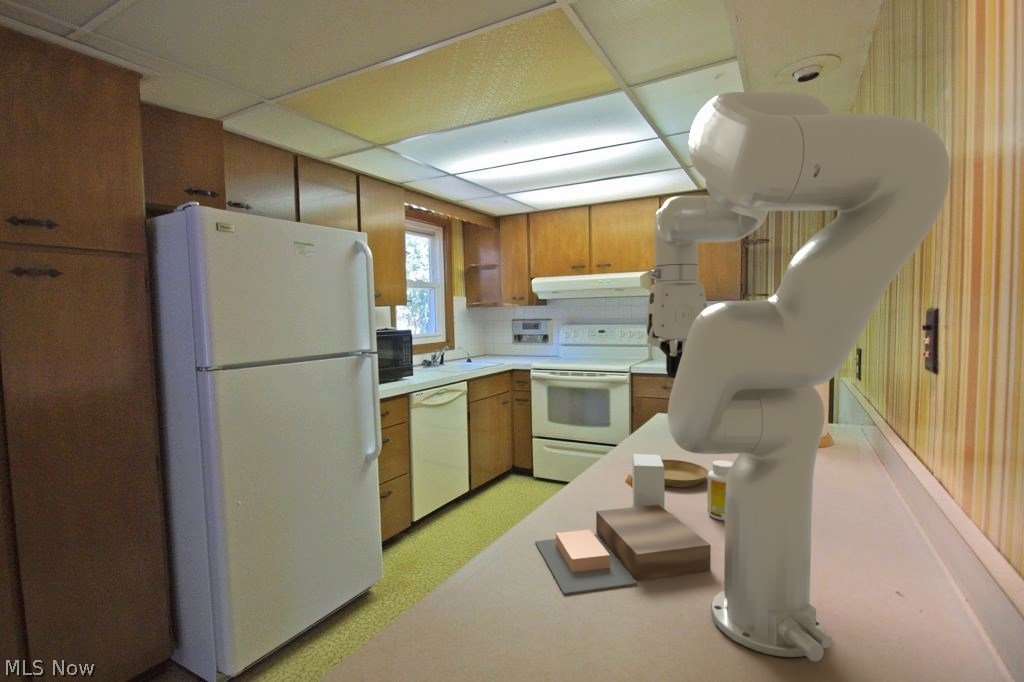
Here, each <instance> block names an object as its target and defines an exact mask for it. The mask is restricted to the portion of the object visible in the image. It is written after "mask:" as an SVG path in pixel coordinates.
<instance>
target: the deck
mask: <svg viewBox="0 0 1024 682" xmlns="http://www.w3.org/2000/svg"><path fill="white" fill-rule="evenodd" d="M595 511H596V512H595V520H596V521H595V522H596V524H595V527H596V533H595V534H596V535H597V536H598V537H599V538H600V540H601V541H602V542H603V543H604V544H605V546H606V547H607V548H608V549H609V550H610V551H611V553H612V554H613V555H614V556H615V557H616V559H617V560H618V561H619V562H620V563H621V564H622V566H623V567H624V568H625V569H626V570H627V572H628V573H629V574H630V575H631V576H632V577H633V578H634V577H635V578H634V580H635V581H636V582H637V581H644V579H645V580H651V578H653V579H657V578H658V579H659V578H666V577H673V576H678V575H687V574H695V573H703V572H708V571H709V572H710V571H711V562H712V561H711V560H712V559H711V557H712V556H711V551H712V550H711V548H712V547H711V546H712V545H711V544H710V543H709V542H708V541H706V540H705V539H704V538H702V537H701V536H700V535H699V534H697V533H696V532H695V531H694V530H693V529H691V528H690V527H688V526H687V525H685V524H684V522H682V521H680V519H678V518H676V517H675V516H674V515H672V514H671V513H670V512H669V511H668V510H666V509H663V508H662V507H661V506H660V505H649V506H640V507H633V506H632V507H624V508H623V507H622V508H612V509H604V510H603V509H602V510H595Z"/></svg>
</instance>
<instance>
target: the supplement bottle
mask: <svg viewBox="0 0 1024 682" xmlns="http://www.w3.org/2000/svg"><path fill="white" fill-rule="evenodd" d="M733 463H734V462H732V461H729V460H722V459H721V460H714V461H712V464H711V465H712V467H711V470H710V471H708V472H709V473H708V476H707V514H708V515H709V516H710V517H711V518H713V519H715V520H718V521H723V522H725V488H726V480H727V476H728V473H729V471H730V469H731V467H732V465H733Z"/></svg>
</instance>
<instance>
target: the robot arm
mask: <svg viewBox="0 0 1024 682" xmlns="http://www.w3.org/2000/svg"><path fill="white" fill-rule="evenodd" d="M688 153H689V158H690V160H691V161H690V162H691V164H692V165H693V168H694V169H695V170H696V172H697V173H698V174H699V175H700V176H701V177H702V178H703V179H704V181H705V188H706V190H707V193H708V194H709V195H679V196H678V195H676V196H673V197H670V198H668V199H667V200H666V201H664V203H663V205H662V206H661V208H659V209H658V210H657V211H656V212H655V216H654V267H653V269H649V270H648V272H647V273H648V278H652V279H653V281H654V284H651V287H650V291H649V296H648V301H647V312H646V334H647V336H648V338H647V345H649V346H650V347H651V346H652V347H656V348H659V349H660V350H661V351H662V352H663V353H662V354H663V355H664V356H665V357H666V358H665V361H666V362H665V371H666V373H667V377H669V378H672V379H674V380H673V384H672V388H671V391H670V394H669V395H670V396H669V400H668V404H667V405H668V406H667V425H668V426H667V427H668V430H669V434H670V436H671V438H672V440H673V441H674V443H676V445H677V446H678V447H680V448H681V449H682V450H684V451H686V452H689V453H693V454H697V455H716V454H717V455H724V454H725V455H726V454H728V455H729V454H738V455H737V457H736V458H735V460H734V461H733V462H732V463H733V465H732V467H731V469H730V471H729V473H728V476H727V480H726V488H725V521H724V566H723V567H724V574H723V575H724V577H723V578H724V580H723V581H724V582H723V583H724V584H723V587H724V589H723V590H722V591H720V592H719V593H717V594H715V596H714V597H713V598H712V601H711V605H710V613H711V618H712V620H713V622H714V624H715V625H716V626H717V627H718V629H719V630H720V631H721V632H723V633H724V634H725V635H726V636H727V637H728V638H730V639H731V640H733V641H735V642H736V643H738V644H740V645H742V646H744V647H746V648H748V649H750V650H753V651H755V652H759V653H762V654H766V655H771V656H775V657H780V658H781V657H784V658H799V657H800V658H801V657H806V658H808V659H809V660H810V661H812V662H818V661H820V660H821V659H822V657H823V655H824V653H825V651H824V650H825V649H828V648H830V647H831V645H832V643H833V640H832V637H831V636H830V635H828V634H827V633H826V632H825V627H824V625H823V623H822V621H821V620H820V619H819V617H818V616H817V608H816V607H814V606H813V605H811V604H810V601H811V599H810V598H811V596H810V595H811V556H812V555H811V553H812V517H813V516H812V515H813V514H812V512H813V488H814V486H813V485H814V474H815V465H816V459H817V454H818V449H819V446H820V442H821V439H822V435H823V431H824V425H825V406H824V402H823V399H822V397H821V394H820V393H819V391H818V390H817V389H816V387H817V386H820V385H824V384H825V383H828V382H829V381H831V380H832V379H833V378H834V377H835V376H836V375H837V374H838V372H839V371H840V370H841V368H842V367H843V365H844V364H845V362H846V361H847V359H848V357H849V356H850V354H851V352H852V350H853V349H854V347H855V345H856V343H857V342H858V340H859V338H860V336H861V334H863V331H864V330H865V328H866V326H867V324H869V323H868V322H869V321H870V319H871V318H872V316H873V314H874V313H875V311H876V309H877V306H878V305H879V303H880V300H881V299H882V297H883V295H884V294H885V292H886V291H887V289H888V288H889V286H890V284H891V283H892V281H893V280H894V279H895V278H896V276H897V275H898V273H900V271H901V270H902V268H903V267H904V266H905V265H906V263H907V262H908V261H909V260H910V258H911V257H912V255H914V253H915V252H916V250H917V249H918V248H919V247H920V245H921V243H922V242H924V240H925V239H926V237H927V235H928V234H929V233H930V231H931V230H932V228H933V226H934V224H935V222H936V221H937V219H938V218H939V216H940V213H941V211H942V209H943V207H944V203H945V201H946V198H947V193H948V190H949V184H950V173H951V171H950V159H949V154H948V150H947V148H946V145H945V142H943V140H942V138H941V137H940V136H939V133H937V132H936V131H935V130H934V129H933V128H931V127H930V126H928V125H927V124H926V123H923V122H920V121H918V120H915V119H912V118H908V117H904V116H897V115H889V114H876V113H875V114H874V113H868V114H867V113H864V114H863V113H859V114H858V113H848V114H847V113H845V114H844V113H841V114H837V113H835V114H832V112H831V110H830V108H829V107H828V106H827V105H826V103H825V102H823V101H822V100H820V99H819V98H817V97H815V96H813V95H810V94H807V93H803V92H795V91H794V92H793V91H730V92H726V93H725V92H724V93H720V94H718V95H716V96H714V97H713V98H711V99H710V100H708V101H707V103H705V105H704V106H703V107H702V108H701V109H700V110H699V112H697V115H696V116H695V118H694V120H693V123H692V125H691V129H690V133H689V139H688ZM789 211H790V212H799V211H800V212H802V211H803V212H805V211H806V212H811V211H813V212H815V211H837V212H838V213H837V216H836V217H835V218H834V219H833V220H832V221H831V222H829V223H828V224H827V225H825V226H824V227H823V228H821V229H820V230H818V231H817V232H816V233H815V234H814V235H813V236H811V237H810V238H809V239H808V240H807V241H806V242H805V243H804V244H803V245H802V246H801V247H800V248H799V249H798V251H797V252H796V253H795V254H794V256H792V258H791V260H790V261H789V262H788V265H787V267H786V270H785V272H784V275H783V278H782V280H781V282H780V284H779V287H778V288H777V290H776V292H775V293H774V294H773V295H772V296H769V297H768V298H766V299H761V300H736V301H735V300H734V301H733V300H732V301H723V302H722V301H721V302H718V303H715V304H712V305H709V306H708V305H707V297H706V291H705V288H704V284H703V283H699V254H700V253H699V247H700V246H699V244H700V243H731V242H732V243H733V242H736V241H739V240H741V239H744V238H746V237H748V236H749V235H750V234H752V233H754V232H755V231H756V230H757V229H759V228H761V226H762V225H763V224H764V222H765V220H766V219H767V216H768V213H769V212H789Z"/></svg>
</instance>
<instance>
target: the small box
mask: <svg viewBox="0 0 1024 682" xmlns="http://www.w3.org/2000/svg"><path fill="white" fill-rule="evenodd" d="M631 456H632V460H631V462H632V463H631V464H632V465H631V466H632V471H631V472H632V475H631V476H632V479H633V488H632V507H640V506H649V505H660V506H661V507H662V508H663V509H665V507H666V506H665V485H664V465H663V462H662V460H663V459H662V456H661V455H660V454H646V453H645V454H644V453H643V454H642V453H632V455H631ZM665 510H666V509H665Z"/></svg>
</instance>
